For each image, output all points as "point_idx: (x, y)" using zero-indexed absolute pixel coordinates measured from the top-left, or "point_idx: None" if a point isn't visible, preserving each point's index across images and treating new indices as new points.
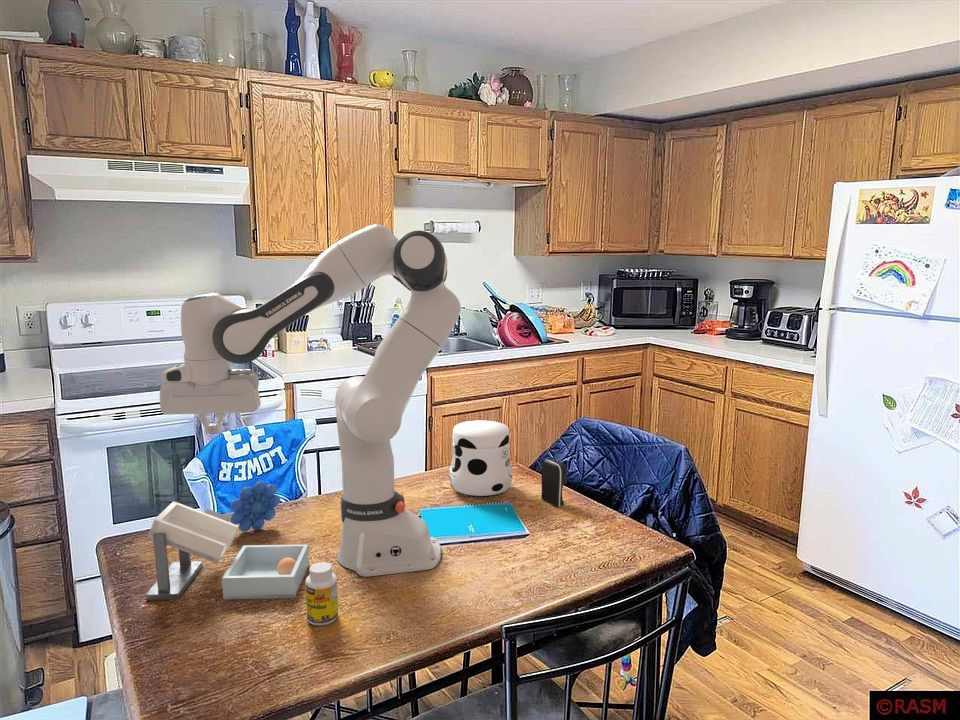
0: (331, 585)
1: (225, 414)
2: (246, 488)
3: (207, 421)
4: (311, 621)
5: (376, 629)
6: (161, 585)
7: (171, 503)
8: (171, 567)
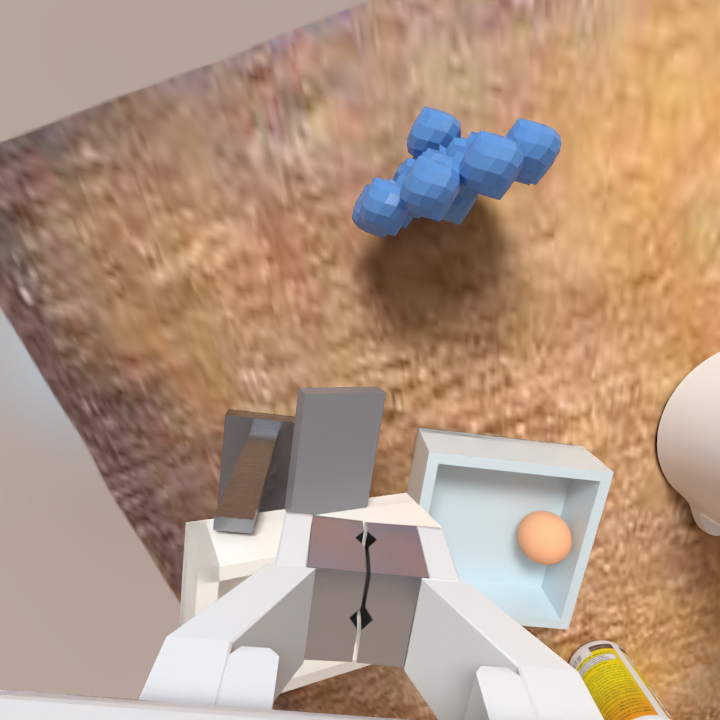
0: None
1: (584, 714)
2: (438, 197)
3: (282, 633)
4: None
5: (685, 701)
6: None
7: (198, 591)
8: (231, 446)
